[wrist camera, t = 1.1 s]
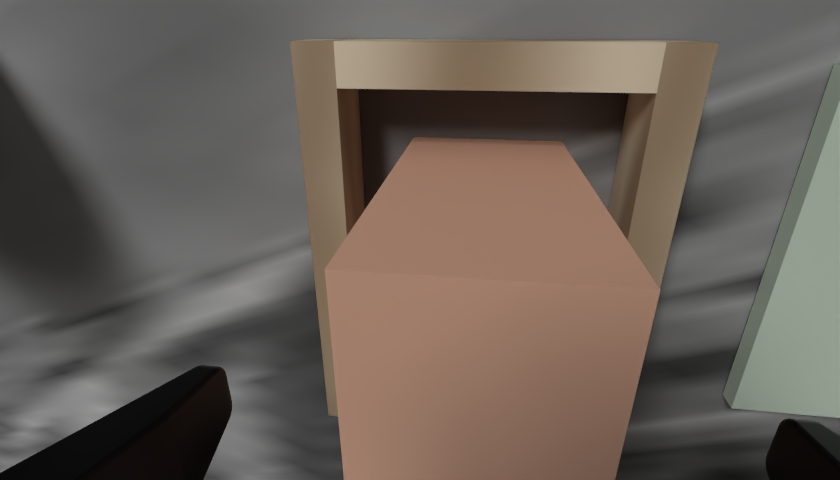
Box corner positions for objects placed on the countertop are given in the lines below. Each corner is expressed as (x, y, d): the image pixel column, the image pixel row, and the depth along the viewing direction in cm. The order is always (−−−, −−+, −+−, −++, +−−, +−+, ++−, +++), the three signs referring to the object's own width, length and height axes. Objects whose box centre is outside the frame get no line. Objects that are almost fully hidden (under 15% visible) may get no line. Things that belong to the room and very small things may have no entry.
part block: (561, 141, 13) (660, 290, 5) (538, 327, 15) (585, 602, 8) (414, 137, 13) (324, 269, 6) (415, 318, 16) (352, 569, 8)
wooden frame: (681, 40, 11) (718, 42, 10) (607, 396, 16) (622, 444, 14) (318, 38, 12) (290, 40, 11) (345, 373, 17) (328, 415, 15)
